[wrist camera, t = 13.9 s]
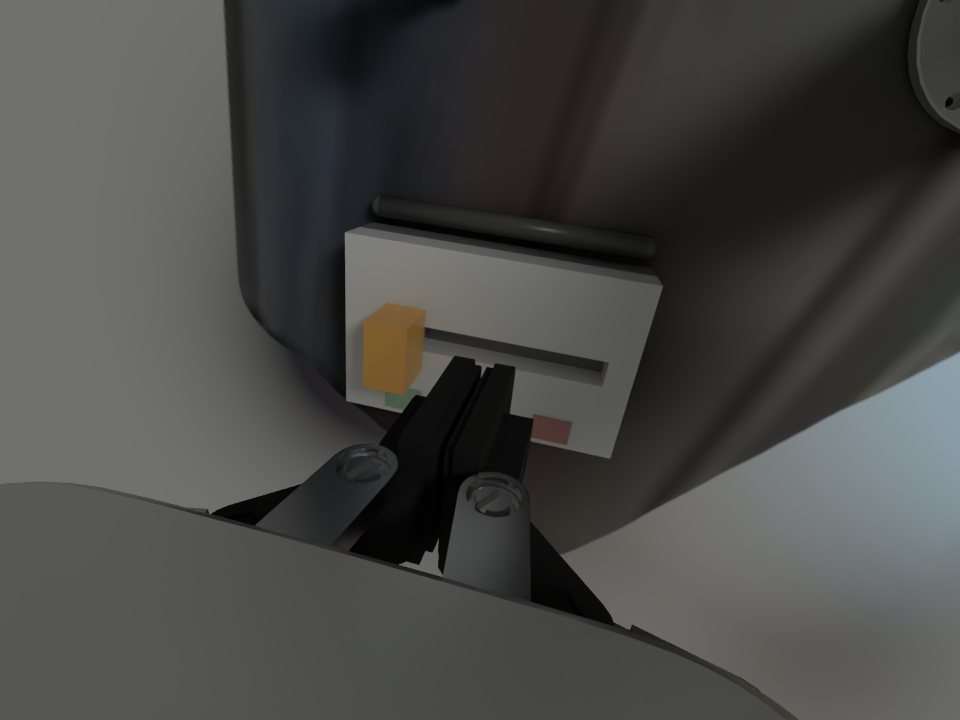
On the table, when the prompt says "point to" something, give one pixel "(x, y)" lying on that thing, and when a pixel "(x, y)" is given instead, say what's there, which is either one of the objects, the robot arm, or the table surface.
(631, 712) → the robot arm
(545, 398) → the switch panel
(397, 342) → the lever
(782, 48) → the table surface
